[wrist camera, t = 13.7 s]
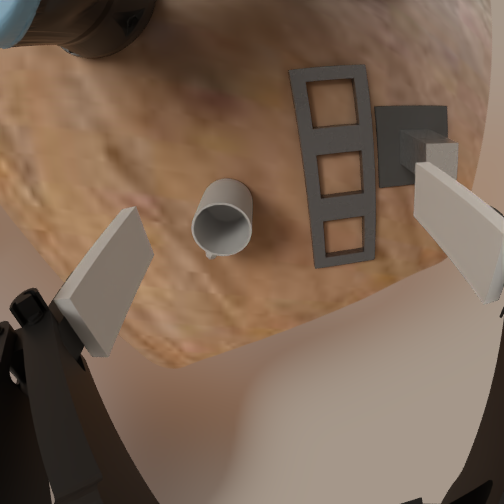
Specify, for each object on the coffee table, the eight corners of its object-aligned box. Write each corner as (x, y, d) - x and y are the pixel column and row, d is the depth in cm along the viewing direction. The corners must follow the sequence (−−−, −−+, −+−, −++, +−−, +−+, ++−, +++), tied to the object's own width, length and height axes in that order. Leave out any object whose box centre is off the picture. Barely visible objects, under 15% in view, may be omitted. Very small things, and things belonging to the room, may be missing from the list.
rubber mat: (374, 106, 36) (375, 106, 36) (445, 105, 35) (447, 106, 34) (378, 186, 42) (379, 187, 42) (444, 180, 41) (446, 181, 41)
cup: (260, 187, 43) (261, 214, 36) (236, 244, 48) (232, 279, 41) (211, 170, 42) (200, 194, 34) (192, 229, 47) (179, 262, 39)
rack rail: (287, 70, 34) (288, 70, 33) (362, 64, 33) (365, 64, 32) (313, 264, 50) (315, 268, 49) (372, 255, 49) (374, 259, 48)
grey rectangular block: (399, 130, 37) (426, 143, 30) (428, 129, 37) (458, 142, 30) (400, 163, 40) (425, 182, 33) (428, 161, 39) (456, 180, 33)
